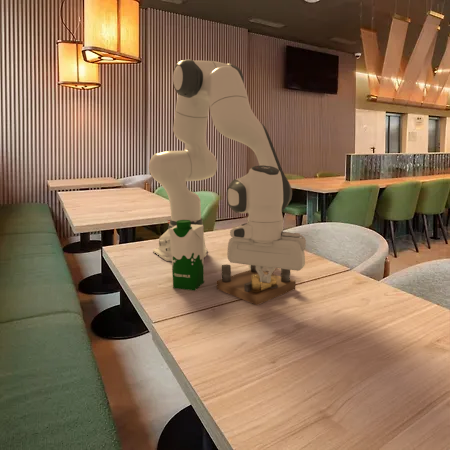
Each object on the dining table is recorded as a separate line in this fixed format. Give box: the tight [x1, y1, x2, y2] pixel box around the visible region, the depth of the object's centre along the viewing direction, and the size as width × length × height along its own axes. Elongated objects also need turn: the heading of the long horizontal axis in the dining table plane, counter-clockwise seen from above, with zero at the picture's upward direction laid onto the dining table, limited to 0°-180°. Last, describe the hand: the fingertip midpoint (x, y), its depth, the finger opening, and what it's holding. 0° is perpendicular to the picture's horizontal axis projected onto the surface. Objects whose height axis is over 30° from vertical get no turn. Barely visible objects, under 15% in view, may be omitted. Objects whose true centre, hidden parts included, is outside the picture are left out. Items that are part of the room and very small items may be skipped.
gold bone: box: [251, 274, 277, 292], centre depth 104 cm, size 9×3×4 cm, turn 131°
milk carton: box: [168, 220, 205, 291], centre depth 113 cm, size 9×9×20 cm
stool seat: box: [216, 263, 296, 306], centre depth 110 cm, size 16×16×7 cm
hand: (265, 282), depth 101 cm, fingers closed
